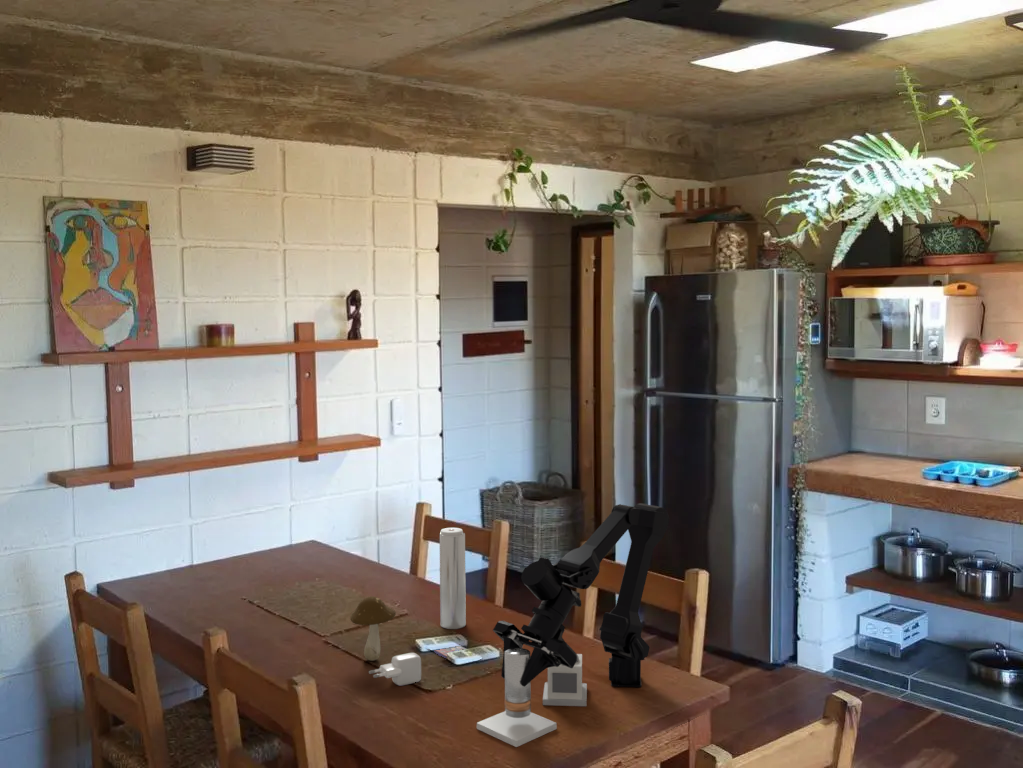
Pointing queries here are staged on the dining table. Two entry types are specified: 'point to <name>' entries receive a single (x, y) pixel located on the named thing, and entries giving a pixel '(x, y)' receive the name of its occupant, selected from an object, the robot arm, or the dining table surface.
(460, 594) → the white tall cylinder
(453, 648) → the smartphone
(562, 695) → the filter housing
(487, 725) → the grey flat square slab
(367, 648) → the mushroom
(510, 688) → the cartridge
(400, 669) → the power adapter
